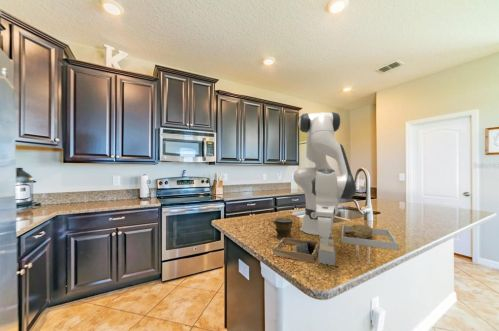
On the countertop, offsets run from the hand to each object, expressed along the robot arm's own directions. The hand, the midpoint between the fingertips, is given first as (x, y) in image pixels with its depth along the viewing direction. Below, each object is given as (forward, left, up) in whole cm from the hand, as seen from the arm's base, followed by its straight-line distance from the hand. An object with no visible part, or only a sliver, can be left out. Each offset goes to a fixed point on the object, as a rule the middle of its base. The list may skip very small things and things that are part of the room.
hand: (326, 241), depth 87 cm
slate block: (0, 0, -8) cm, 8 cm away
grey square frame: (-39, +17, -8) cm, 43 cm away
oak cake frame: (-5, -13, -8) cm, 17 cm away
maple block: (0, 0, -3) cm, 3 cm away
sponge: (-40, +14, -8) cm, 43 cm away
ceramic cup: (-22, -26, -8) cm, 35 cm away
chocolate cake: (-5, -10, -9) cm, 14 cm away
